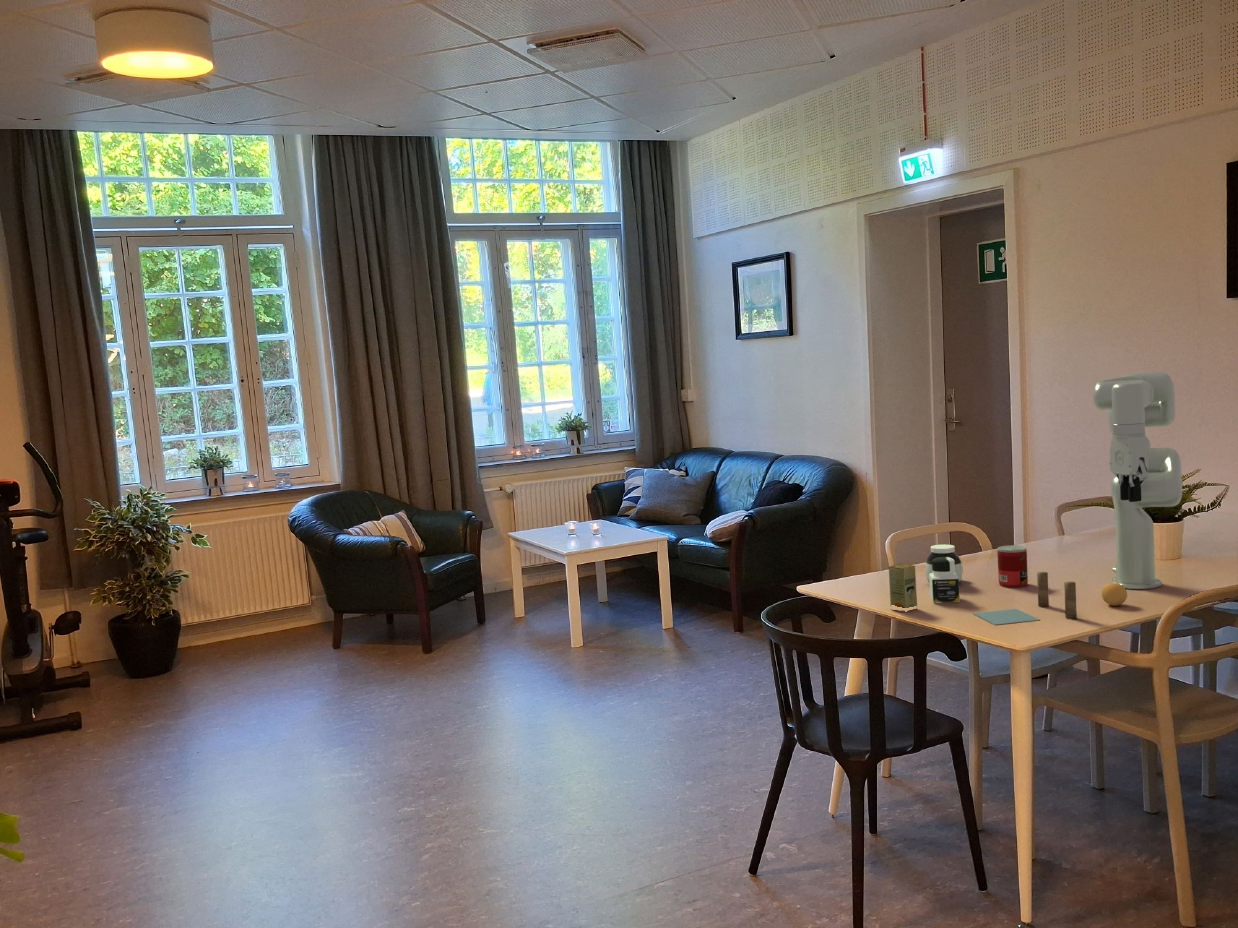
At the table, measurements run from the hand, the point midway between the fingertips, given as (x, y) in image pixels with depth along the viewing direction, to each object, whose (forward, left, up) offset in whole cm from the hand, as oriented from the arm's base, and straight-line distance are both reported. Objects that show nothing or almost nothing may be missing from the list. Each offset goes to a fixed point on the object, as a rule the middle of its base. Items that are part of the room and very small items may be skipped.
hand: (1130, 500), depth 265 cm
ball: (+1, -6, -24) cm, 25 cm away
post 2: (+8, -22, -27) cm, 36 cm away
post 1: (-6, -22, -27) cm, 35 cm away
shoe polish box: (-17, -56, -27) cm, 65 cm away
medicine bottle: (-22, -42, -27) cm, 55 cm away
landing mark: (+1, -36, -27) cm, 45 cm away
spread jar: (-41, -33, -27) cm, 59 cm away
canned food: (-31, -17, -27) cm, 45 cm away
